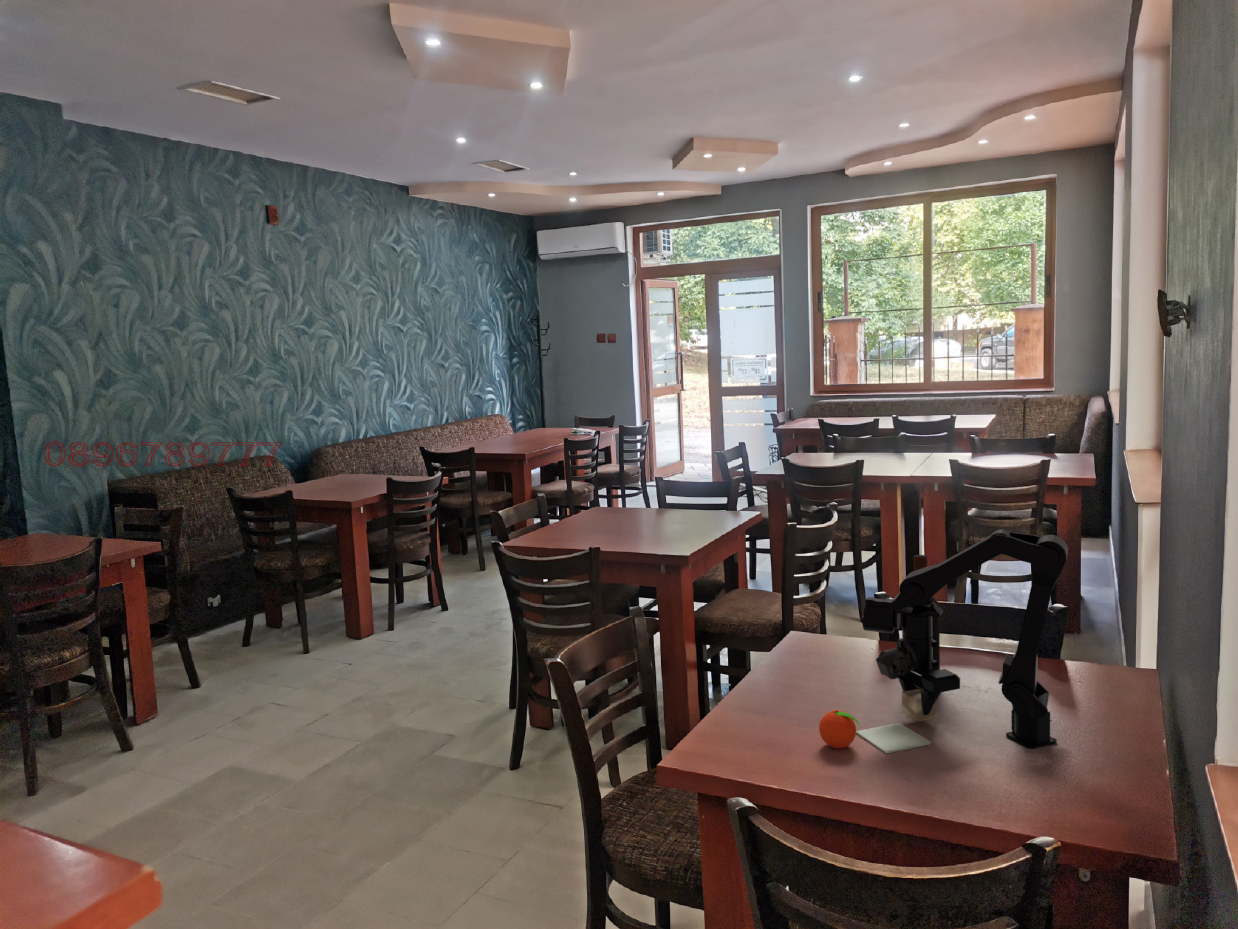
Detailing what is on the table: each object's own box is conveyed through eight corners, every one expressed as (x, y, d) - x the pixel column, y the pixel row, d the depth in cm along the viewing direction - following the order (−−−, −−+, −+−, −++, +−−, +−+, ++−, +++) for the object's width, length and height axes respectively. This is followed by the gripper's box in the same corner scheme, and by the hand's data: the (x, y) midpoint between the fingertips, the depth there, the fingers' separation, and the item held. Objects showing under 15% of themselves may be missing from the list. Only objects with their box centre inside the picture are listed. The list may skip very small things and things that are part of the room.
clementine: (866, 743, 169) (865, 708, 168) (856, 758, 163) (855, 721, 162) (825, 736, 173) (824, 701, 172) (814, 750, 167) (813, 714, 166)
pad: (931, 744, 167) (931, 742, 167) (886, 753, 164) (886, 751, 164) (899, 724, 177) (899, 722, 176) (856, 733, 174) (855, 731, 173)
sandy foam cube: (935, 717, 175) (934, 696, 175) (916, 721, 174) (915, 699, 173) (920, 709, 179) (920, 688, 179) (902, 713, 178) (901, 692, 178)
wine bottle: (942, 695, 190) (941, 560, 187) (906, 694, 192) (904, 560, 188) (937, 682, 198) (936, 552, 194) (902, 681, 199) (900, 552, 196)
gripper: (855, 628, 181) (857, 701, 183) (912, 655, 163) (913, 735, 165) (901, 621, 185) (903, 692, 186) (961, 646, 167) (962, 725, 169)
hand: (918, 710), depth 177 cm, fingers closed on sandy foam cube, 4 cm apart
